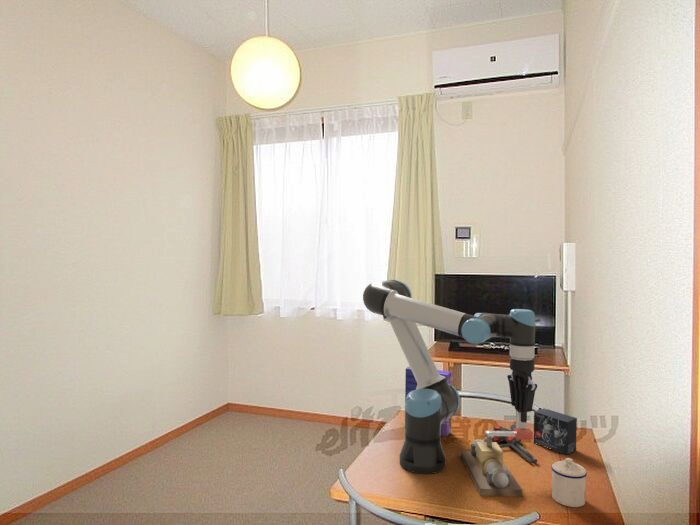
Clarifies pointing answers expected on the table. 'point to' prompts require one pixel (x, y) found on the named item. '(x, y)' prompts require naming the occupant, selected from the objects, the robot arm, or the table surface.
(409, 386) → the cereal box
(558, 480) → the white lidded jar
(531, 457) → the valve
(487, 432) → the valve lever
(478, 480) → the valve stand
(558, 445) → the small box
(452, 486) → the table surface
